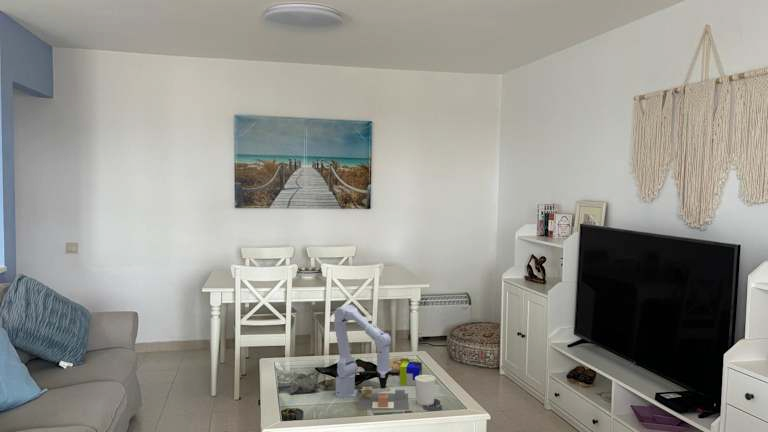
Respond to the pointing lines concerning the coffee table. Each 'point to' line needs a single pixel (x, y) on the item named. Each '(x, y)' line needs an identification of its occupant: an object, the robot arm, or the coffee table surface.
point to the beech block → (367, 393)
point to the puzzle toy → (410, 372)
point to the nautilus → (397, 363)
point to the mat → (392, 405)
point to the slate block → (399, 392)
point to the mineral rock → (302, 384)
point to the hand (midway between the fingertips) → (383, 388)
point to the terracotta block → (382, 400)
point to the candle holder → (425, 389)
